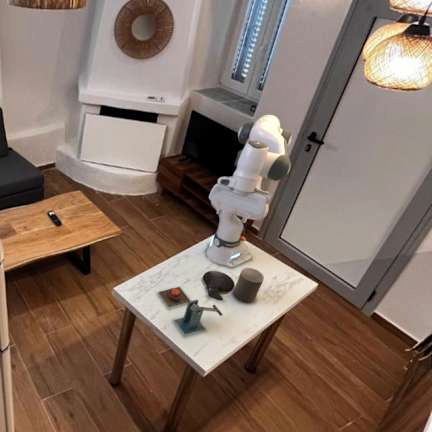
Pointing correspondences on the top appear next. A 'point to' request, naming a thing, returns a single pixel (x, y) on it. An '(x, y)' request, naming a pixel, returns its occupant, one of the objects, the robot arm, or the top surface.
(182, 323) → the bracket
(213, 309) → the lever
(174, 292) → the button
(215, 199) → the robot arm
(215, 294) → the gaming controller
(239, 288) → the pillar candle
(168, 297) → the control block
